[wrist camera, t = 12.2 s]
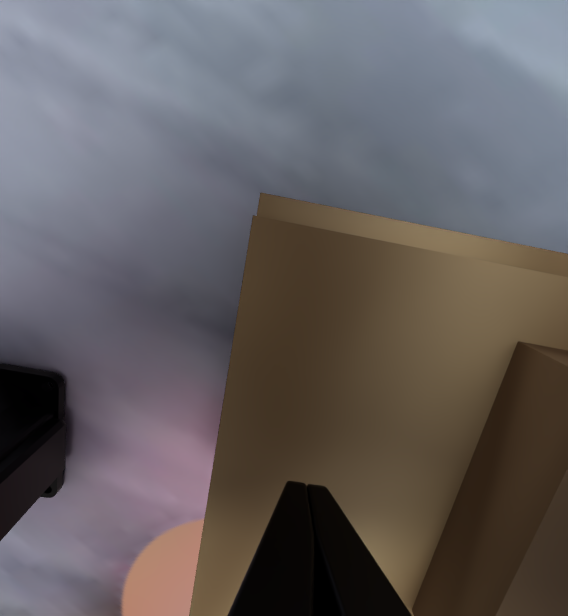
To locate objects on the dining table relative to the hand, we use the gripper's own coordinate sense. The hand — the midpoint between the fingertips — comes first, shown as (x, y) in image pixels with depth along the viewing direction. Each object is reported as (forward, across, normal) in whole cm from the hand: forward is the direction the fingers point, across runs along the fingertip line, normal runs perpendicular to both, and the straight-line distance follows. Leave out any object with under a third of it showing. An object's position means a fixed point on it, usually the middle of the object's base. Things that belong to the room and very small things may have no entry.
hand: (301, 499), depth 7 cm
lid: (+2, -5, 0) cm, 5 cm away
